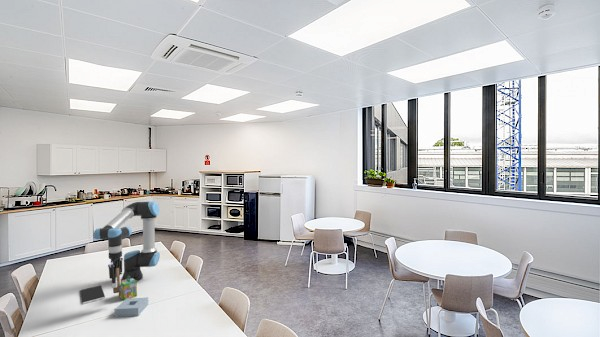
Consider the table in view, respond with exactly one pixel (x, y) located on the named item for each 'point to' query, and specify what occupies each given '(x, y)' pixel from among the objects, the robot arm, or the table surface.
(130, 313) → the socket block
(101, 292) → the smartphone
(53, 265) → the table surface
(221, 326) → the table surface
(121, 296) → the chalk box
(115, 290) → the dowel
